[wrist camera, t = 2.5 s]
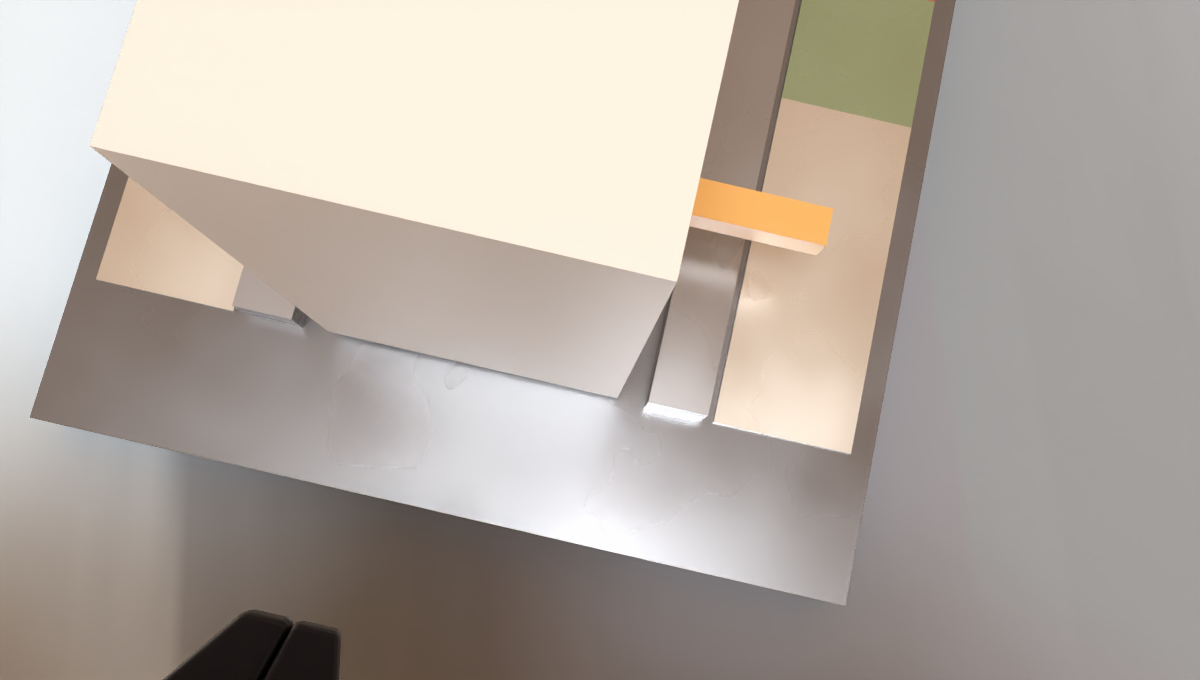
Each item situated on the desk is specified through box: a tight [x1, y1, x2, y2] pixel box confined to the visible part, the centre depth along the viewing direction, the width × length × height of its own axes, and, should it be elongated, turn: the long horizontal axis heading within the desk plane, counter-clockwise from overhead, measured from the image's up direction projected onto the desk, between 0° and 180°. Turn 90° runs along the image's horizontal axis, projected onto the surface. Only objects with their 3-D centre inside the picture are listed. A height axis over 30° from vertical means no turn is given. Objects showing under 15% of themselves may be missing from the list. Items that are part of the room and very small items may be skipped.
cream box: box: [90, 0, 833, 398], centre depth 14 cm, size 6×10×9 cm, turn 77°
